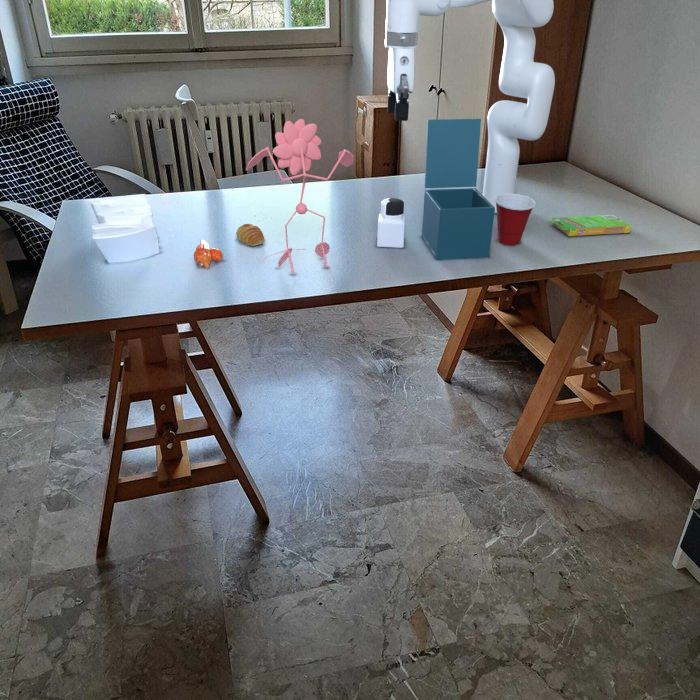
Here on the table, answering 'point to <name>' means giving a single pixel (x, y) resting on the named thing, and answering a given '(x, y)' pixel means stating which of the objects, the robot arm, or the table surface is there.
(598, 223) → the game box
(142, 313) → the table surface
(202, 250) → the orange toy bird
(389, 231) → the medicine bottle
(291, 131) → the figurine
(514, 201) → the plastic cup
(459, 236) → the cool box
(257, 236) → the pastry
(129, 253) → the wavy white extrusion
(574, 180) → the table surface
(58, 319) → the table surface
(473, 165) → the cool box lid
